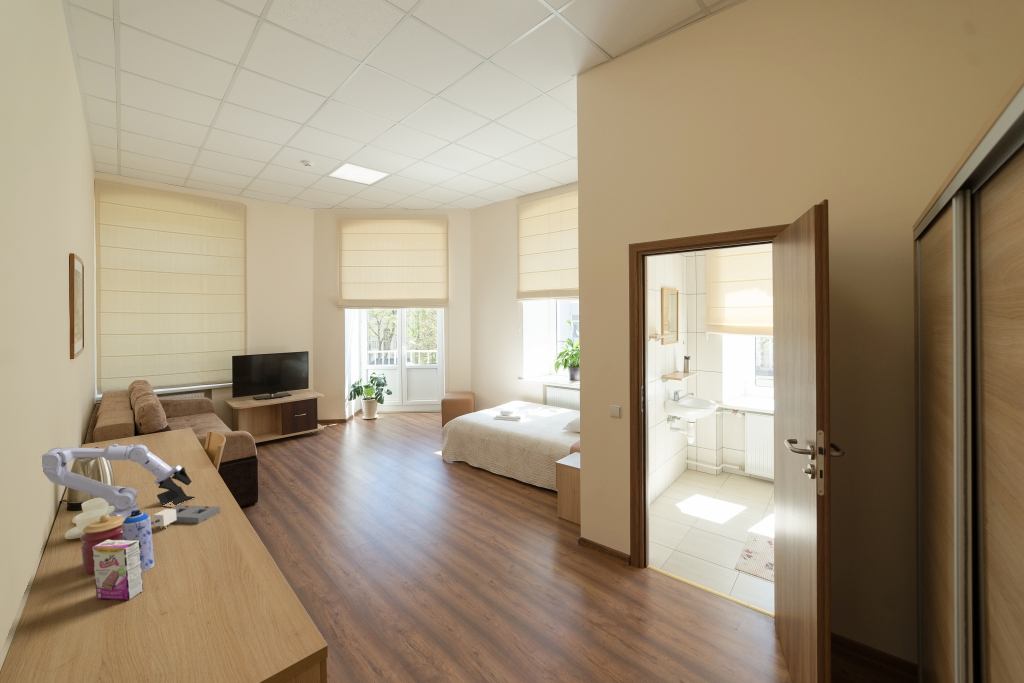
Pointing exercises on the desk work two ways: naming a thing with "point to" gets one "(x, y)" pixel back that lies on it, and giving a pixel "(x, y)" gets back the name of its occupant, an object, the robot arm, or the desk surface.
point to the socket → (194, 513)
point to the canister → (99, 537)
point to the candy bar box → (117, 569)
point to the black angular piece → (173, 497)
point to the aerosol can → (140, 536)
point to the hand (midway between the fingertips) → (184, 487)
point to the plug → (165, 517)
